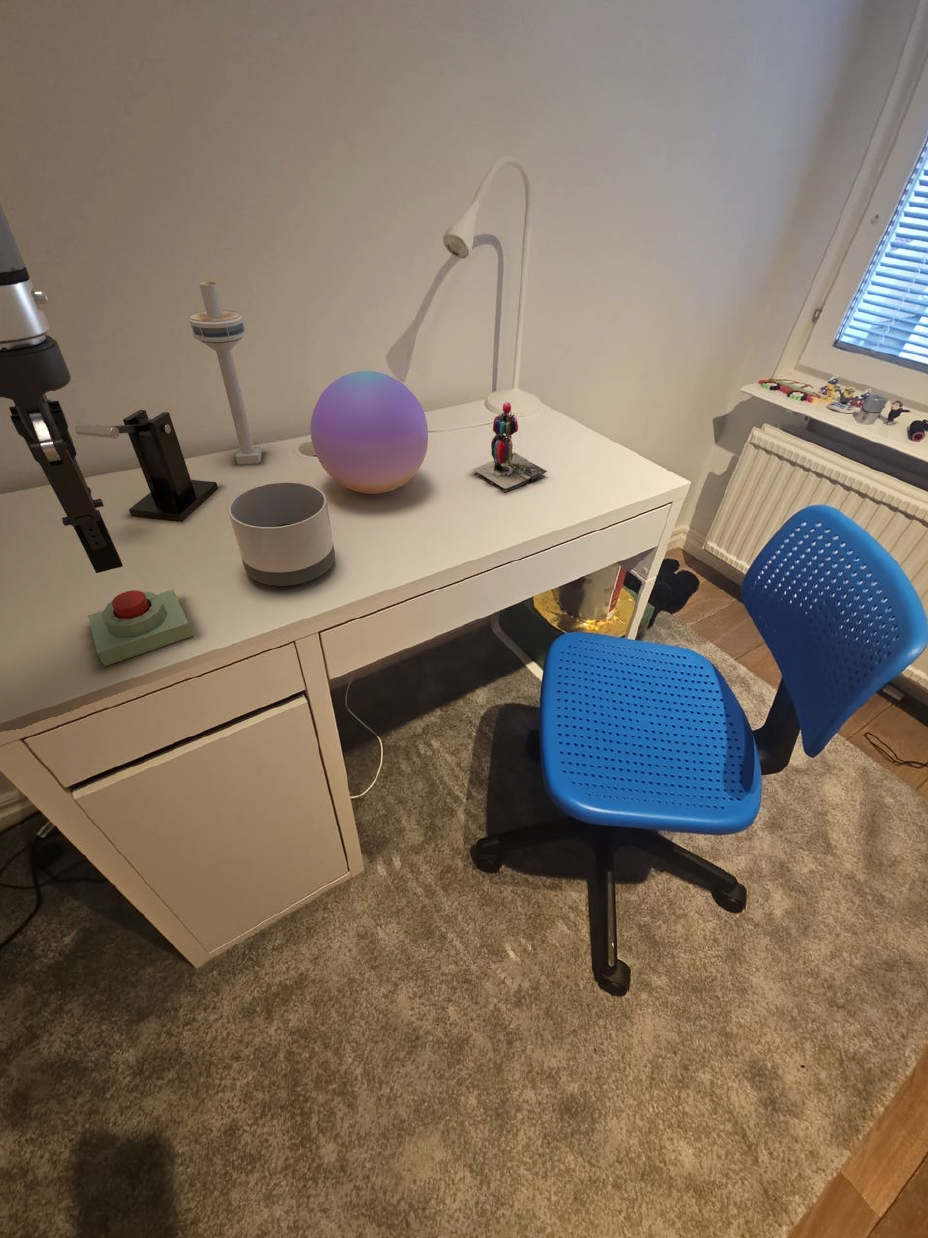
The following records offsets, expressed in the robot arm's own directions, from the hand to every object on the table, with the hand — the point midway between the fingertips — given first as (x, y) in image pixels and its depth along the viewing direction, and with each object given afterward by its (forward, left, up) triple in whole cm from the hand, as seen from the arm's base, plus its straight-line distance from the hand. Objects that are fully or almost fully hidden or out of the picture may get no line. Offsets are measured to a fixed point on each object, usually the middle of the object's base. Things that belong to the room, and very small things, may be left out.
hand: (108, 566), depth 61 cm
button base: (0, 0, -10) cm, 10 cm away
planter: (+20, -7, -11) cm, 24 cm away
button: (0, 0, -7) cm, 7 cm away
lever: (+21, +21, +3) cm, 30 cm away
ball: (+47, -4, -11) cm, 49 cm away
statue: (+64, -24, -11) cm, 69 cm away
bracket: (+26, +23, -10) cm, 36 cm away
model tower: (+45, +24, -11) cm, 52 cm away
